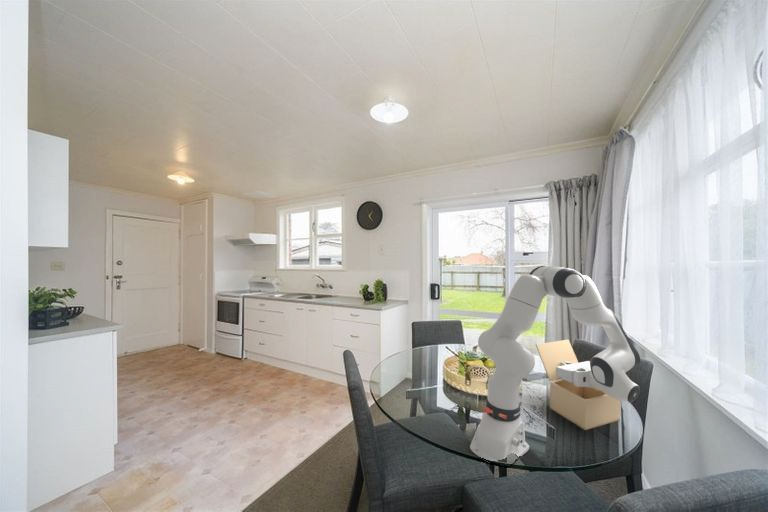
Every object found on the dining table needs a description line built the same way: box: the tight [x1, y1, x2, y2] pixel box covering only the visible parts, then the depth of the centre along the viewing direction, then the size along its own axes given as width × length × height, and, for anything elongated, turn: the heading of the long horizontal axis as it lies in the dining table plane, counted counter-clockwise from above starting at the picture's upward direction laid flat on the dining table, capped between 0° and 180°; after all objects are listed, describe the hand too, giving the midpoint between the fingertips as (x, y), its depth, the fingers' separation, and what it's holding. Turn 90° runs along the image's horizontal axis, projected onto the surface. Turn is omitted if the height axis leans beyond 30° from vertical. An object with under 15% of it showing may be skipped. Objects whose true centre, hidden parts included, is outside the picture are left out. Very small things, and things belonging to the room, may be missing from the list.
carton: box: [549, 379, 622, 431], centre depth 125 cm, size 16×20×12 cm
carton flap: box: [535, 339, 579, 382], centre depth 136 cm, size 16×20×1 cm
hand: (562, 363), depth 135 cm, fingers closed, pressing on carton flap
